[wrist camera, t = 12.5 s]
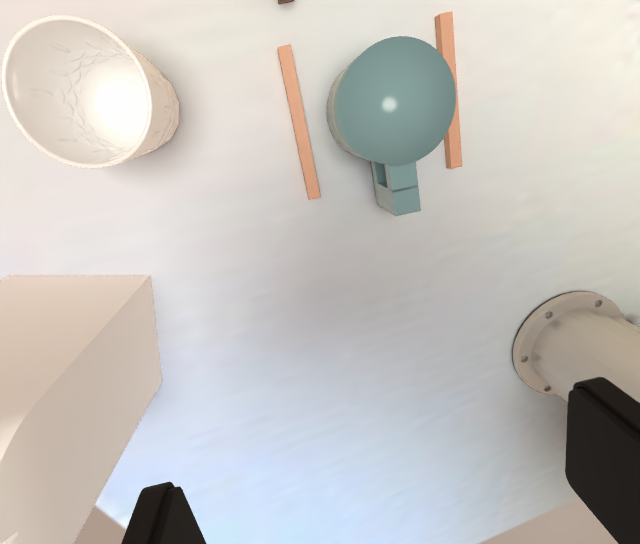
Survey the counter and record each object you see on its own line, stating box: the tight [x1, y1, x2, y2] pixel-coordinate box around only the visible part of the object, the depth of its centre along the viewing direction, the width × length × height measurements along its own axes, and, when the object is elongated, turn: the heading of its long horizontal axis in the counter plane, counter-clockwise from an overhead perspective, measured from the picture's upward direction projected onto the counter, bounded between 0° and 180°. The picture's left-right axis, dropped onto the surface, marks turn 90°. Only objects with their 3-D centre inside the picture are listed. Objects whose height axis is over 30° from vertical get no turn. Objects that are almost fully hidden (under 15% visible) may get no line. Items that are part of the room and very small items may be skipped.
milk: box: [0, 275, 162, 544], centre depth 25 cm, size 12×12×26 cm
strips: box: [278, 12, 462, 200], centre depth 33 cm, size 14×12×1 cm
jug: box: [327, 36, 456, 216], centre depth 30 cm, size 8×12×8 cm
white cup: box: [1, 15, 179, 169], centre depth 26 cm, size 8×8×10 cm
